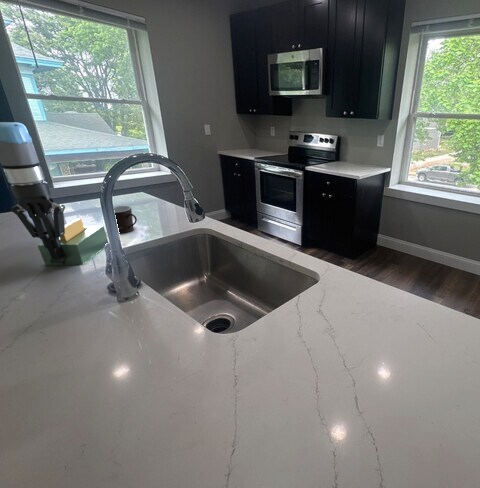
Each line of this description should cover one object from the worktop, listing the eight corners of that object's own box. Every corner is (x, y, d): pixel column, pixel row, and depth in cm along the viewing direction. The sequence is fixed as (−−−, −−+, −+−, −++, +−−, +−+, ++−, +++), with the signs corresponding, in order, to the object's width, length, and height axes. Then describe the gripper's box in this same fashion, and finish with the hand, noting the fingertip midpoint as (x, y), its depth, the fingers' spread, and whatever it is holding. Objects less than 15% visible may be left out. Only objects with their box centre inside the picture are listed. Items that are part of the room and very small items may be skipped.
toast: (67, 260, 98) (56, 229, 94) (85, 247, 107) (76, 218, 103) (73, 259, 99) (62, 229, 94) (90, 246, 108) (81, 218, 103)
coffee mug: (109, 231, 123) (102, 208, 118) (132, 226, 128) (127, 204, 124) (118, 240, 116) (111, 216, 111) (142, 234, 121) (136, 211, 117)
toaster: (46, 267, 95) (37, 245, 92) (77, 246, 110) (70, 226, 106) (83, 266, 97) (76, 244, 93) (109, 245, 111) (103, 225, 108)
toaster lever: (50, 263, 92) (49, 259, 92) (56, 259, 94) (54, 256, 94) (61, 262, 93) (60, 259, 92) (66, 259, 95) (65, 255, 94)
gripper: (63, 179, 87) (87, 251, 97) (12, 179, 85) (42, 252, 95) (44, 185, 80) (73, 262, 90) (-11, 185, 79) (24, 263, 89)
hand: (57, 257), depth 93 cm, fingers closed
